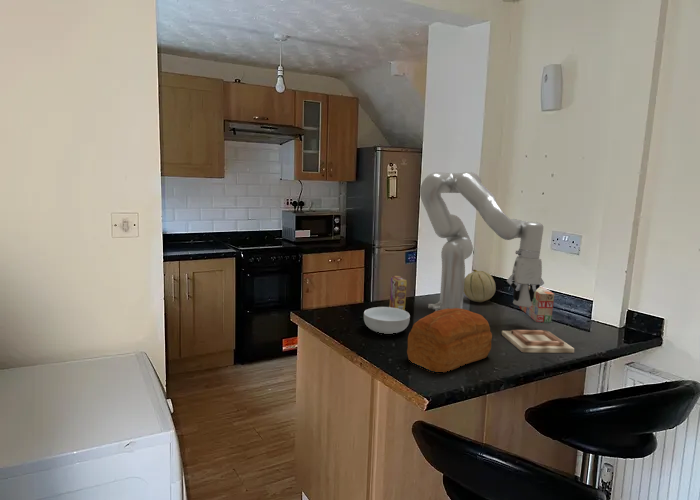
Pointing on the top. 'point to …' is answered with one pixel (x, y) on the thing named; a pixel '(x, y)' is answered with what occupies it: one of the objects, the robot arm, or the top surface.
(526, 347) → the board
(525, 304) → the flask
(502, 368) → the top surface
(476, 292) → the cantaloupe
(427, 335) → the bread
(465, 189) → the robot arm
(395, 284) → the candy box
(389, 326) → the cereal bowl
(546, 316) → the stack of blocks
